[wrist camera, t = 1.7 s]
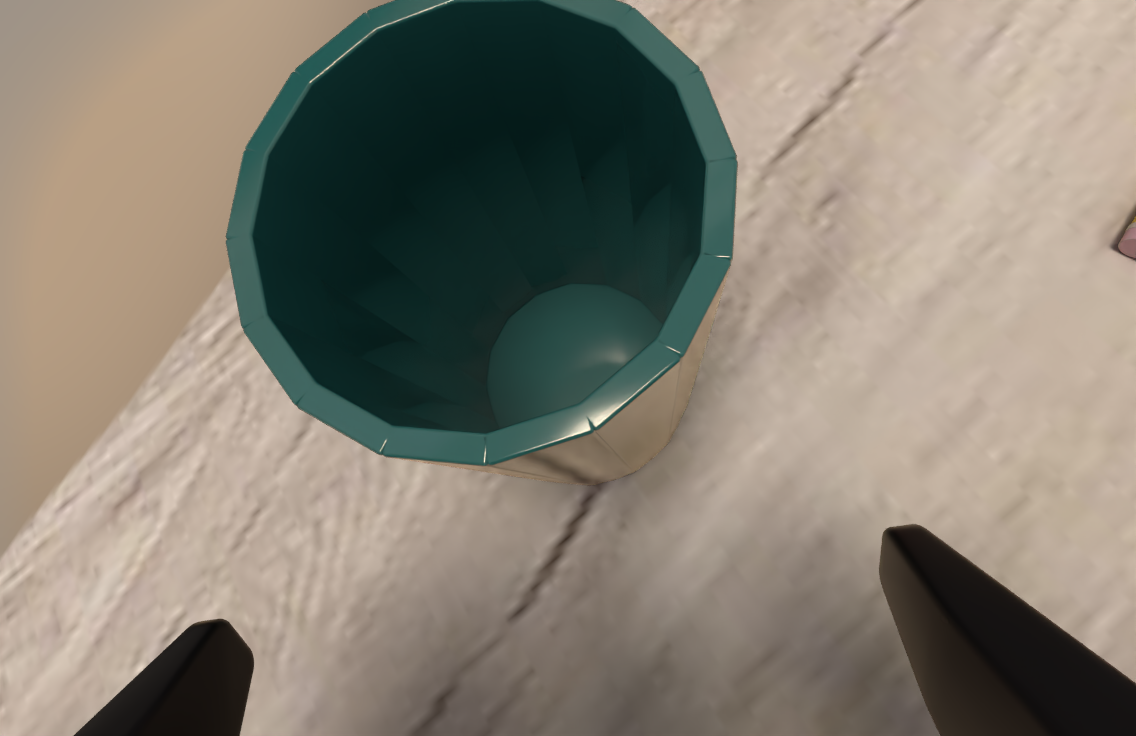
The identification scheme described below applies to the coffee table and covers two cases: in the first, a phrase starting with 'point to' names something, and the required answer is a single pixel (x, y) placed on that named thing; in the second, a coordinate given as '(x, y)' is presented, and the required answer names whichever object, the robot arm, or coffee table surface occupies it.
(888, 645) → the coffee table surface
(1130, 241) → the pencil
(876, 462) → the coffee table surface
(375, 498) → the coffee table surface
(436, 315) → the tumbler
